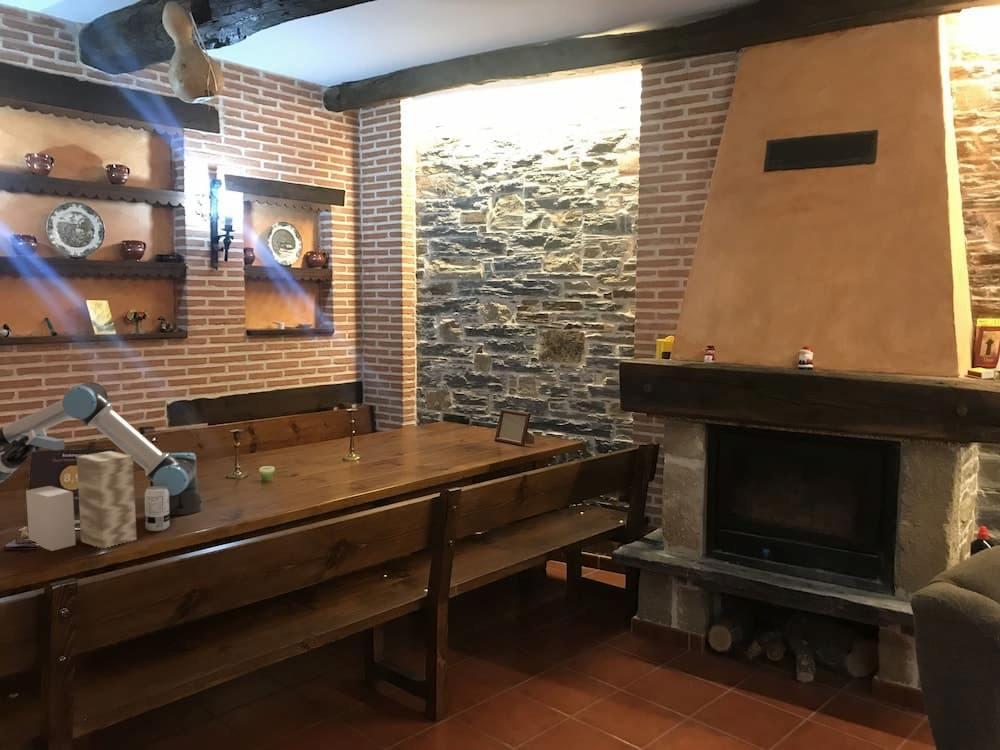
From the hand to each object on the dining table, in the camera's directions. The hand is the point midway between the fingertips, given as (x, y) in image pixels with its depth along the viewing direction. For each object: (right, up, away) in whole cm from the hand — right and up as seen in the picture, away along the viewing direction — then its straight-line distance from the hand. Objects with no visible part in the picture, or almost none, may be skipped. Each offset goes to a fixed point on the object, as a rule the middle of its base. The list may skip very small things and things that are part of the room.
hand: (39, 432), depth 277 cm
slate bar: (+1, -4, 0) cm, 5 cm away
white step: (+4, -38, +2) cm, 38 cm away
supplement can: (+32, -37, +20) cm, 53 cm away
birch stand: (+21, -38, +5) cm, 44 cm away
